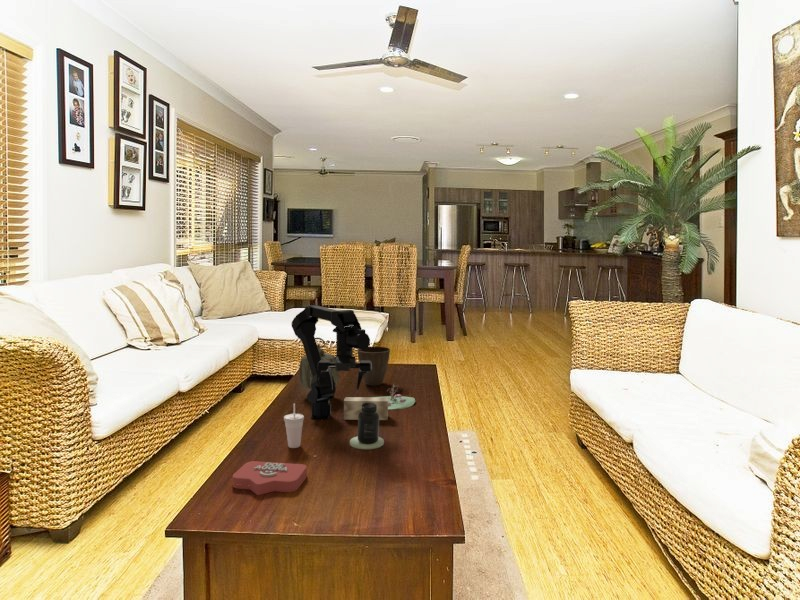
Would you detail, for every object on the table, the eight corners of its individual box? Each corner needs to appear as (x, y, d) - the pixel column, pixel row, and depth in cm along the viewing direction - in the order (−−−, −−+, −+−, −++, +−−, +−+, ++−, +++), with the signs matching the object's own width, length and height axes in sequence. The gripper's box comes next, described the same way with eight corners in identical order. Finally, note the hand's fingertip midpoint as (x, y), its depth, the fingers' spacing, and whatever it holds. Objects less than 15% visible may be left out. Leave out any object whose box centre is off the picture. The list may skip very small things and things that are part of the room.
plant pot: (353, 386, 258) (353, 351, 256) (361, 379, 273) (361, 345, 271) (386, 388, 256) (386, 353, 254) (392, 380, 270) (392, 347, 269)
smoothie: (287, 450, 180) (286, 407, 178) (281, 444, 185) (281, 401, 184) (307, 447, 182) (306, 404, 181) (300, 441, 188) (300, 399, 187)
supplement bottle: (382, 438, 188) (384, 404, 185) (371, 446, 182) (373, 410, 179) (364, 433, 191) (365, 399, 188) (353, 441, 185) (354, 406, 182)
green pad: (348, 449, 181) (348, 446, 181) (351, 437, 192) (351, 435, 192) (383, 449, 181) (383, 447, 181) (384, 437, 192) (384, 435, 192)
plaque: (224, 479, 149) (248, 458, 164) (225, 494, 150) (248, 471, 164) (291, 484, 147) (308, 462, 162) (291, 499, 147) (308, 475, 162)
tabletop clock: (338, 396, 241) (338, 338, 239) (324, 401, 234) (324, 341, 231) (312, 391, 249) (311, 334, 247) (297, 396, 242) (297, 337, 239)
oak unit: (343, 419, 211) (343, 400, 210) (345, 415, 216) (345, 396, 216) (387, 420, 211) (387, 401, 210) (387, 415, 216) (388, 397, 216)
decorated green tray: (352, 410, 224) (352, 388, 223) (355, 396, 244) (355, 375, 243) (416, 410, 224) (416, 388, 223) (413, 396, 245) (414, 375, 244)
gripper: (314, 349, 194) (314, 395, 195) (369, 350, 194) (369, 395, 195) (319, 344, 205) (319, 387, 206) (371, 344, 205) (371, 387, 206)
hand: (344, 389), depth 203 cm, fingers open, 9 cm apart
